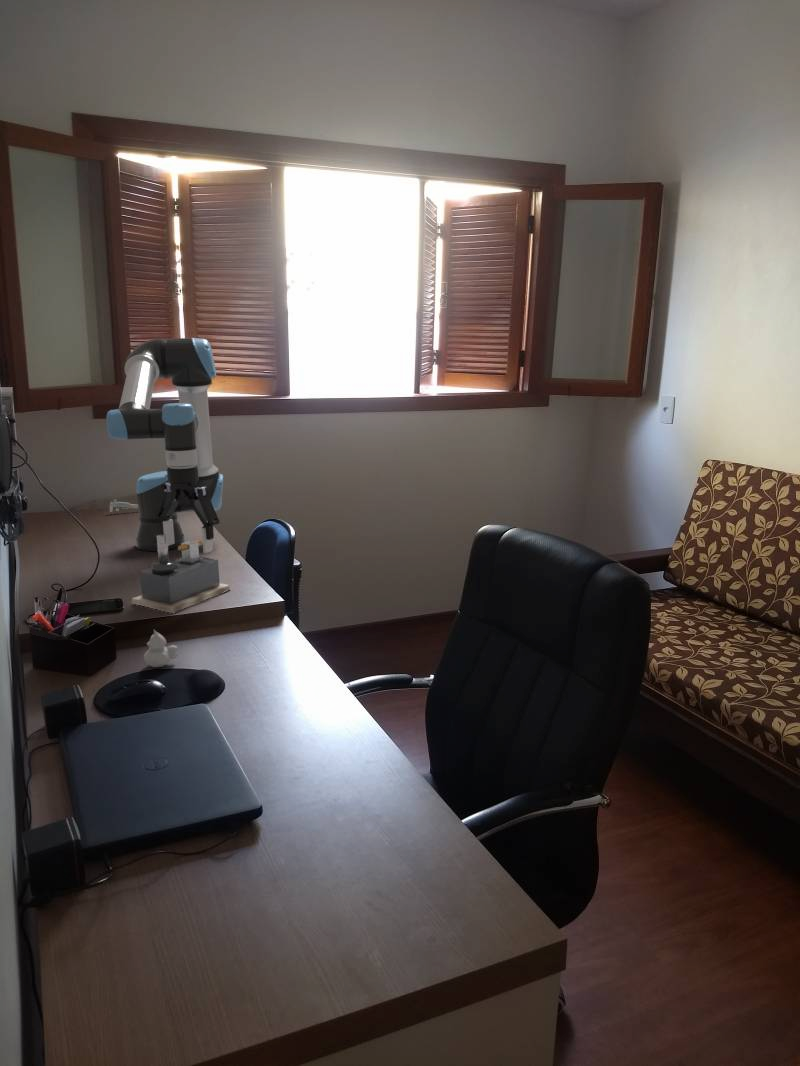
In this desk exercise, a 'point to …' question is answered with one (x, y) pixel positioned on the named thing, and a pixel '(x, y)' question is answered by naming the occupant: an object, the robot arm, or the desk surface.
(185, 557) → the light grey boxy piece
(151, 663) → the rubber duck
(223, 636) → the desk surface
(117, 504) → the caliper
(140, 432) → the robot arm
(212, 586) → the block
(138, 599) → the base board
